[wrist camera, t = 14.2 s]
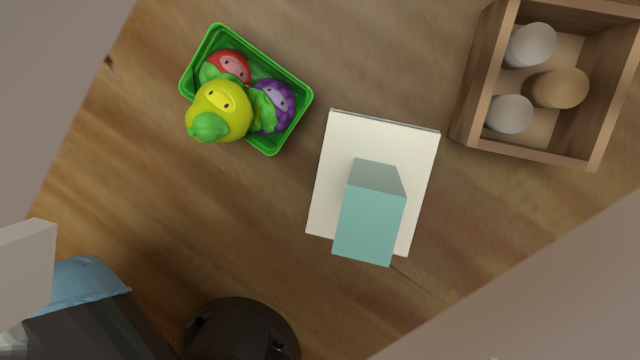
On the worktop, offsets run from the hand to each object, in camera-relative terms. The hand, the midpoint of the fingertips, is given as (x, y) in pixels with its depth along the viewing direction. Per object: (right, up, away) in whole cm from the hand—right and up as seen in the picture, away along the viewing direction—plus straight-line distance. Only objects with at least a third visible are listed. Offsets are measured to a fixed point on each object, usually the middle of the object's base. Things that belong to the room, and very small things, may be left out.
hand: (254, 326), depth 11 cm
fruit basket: (-5, +13, +29) cm, 32 cm away
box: (+21, +13, +25) cm, 35 cm away
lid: (+7, +4, +28) cm, 29 cm away
